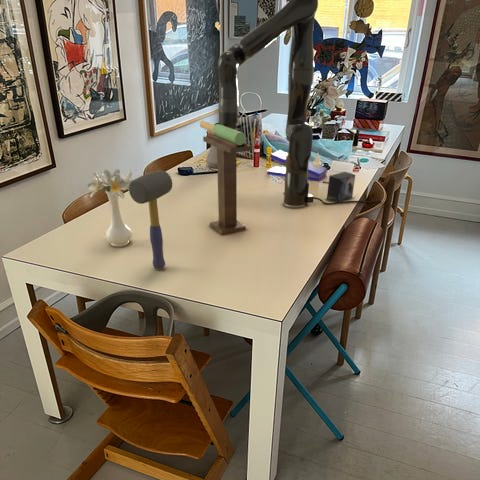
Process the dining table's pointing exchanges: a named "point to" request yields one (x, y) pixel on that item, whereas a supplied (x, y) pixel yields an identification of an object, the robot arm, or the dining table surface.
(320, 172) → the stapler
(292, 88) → the robot arm
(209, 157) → the coffee pot
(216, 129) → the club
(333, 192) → the small box
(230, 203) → the stand
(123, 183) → the flower vase
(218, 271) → the dining table surface
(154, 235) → the rubber mallet
